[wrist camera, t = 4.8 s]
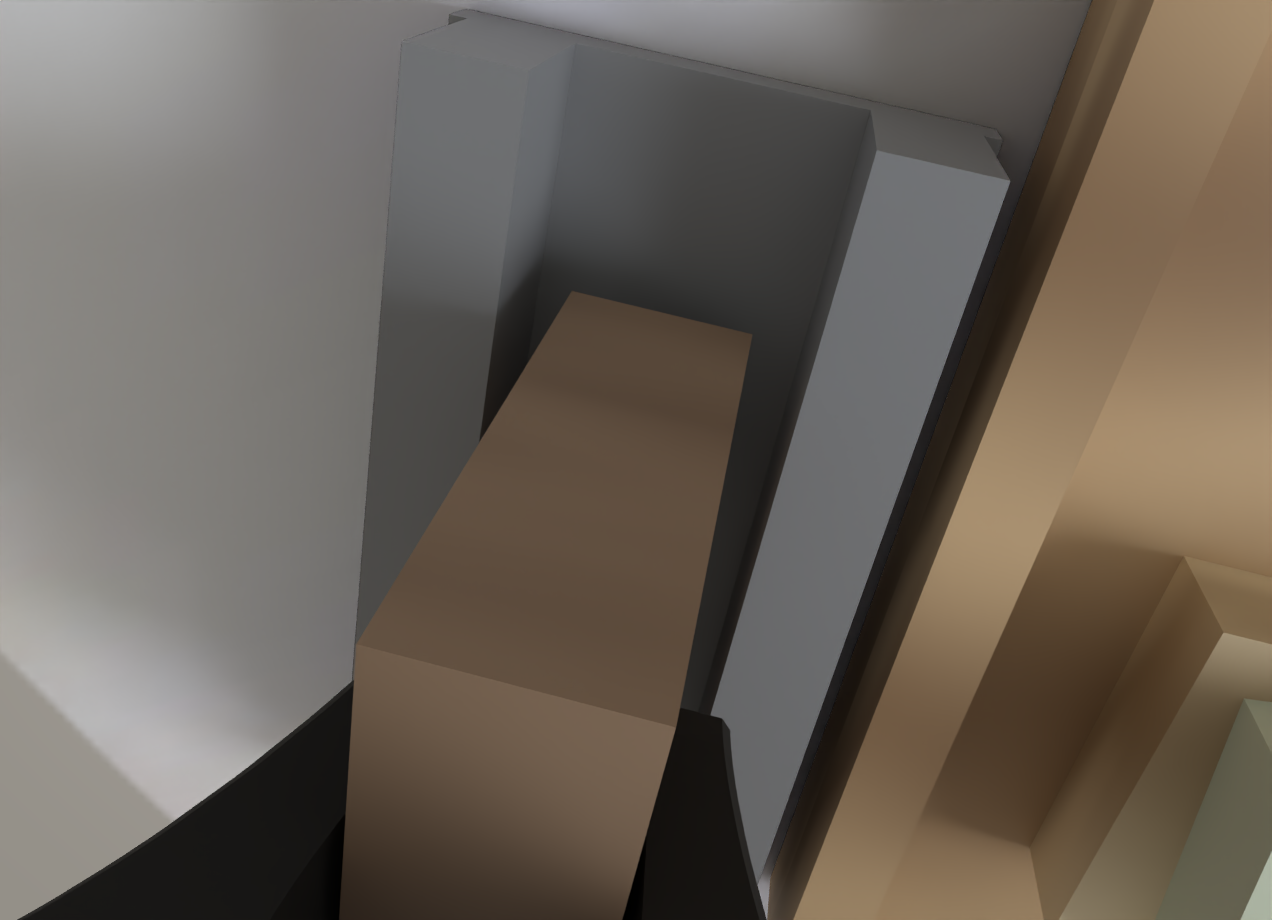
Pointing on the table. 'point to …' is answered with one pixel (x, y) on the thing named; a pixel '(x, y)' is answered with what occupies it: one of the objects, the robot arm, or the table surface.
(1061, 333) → the tray
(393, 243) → the holder
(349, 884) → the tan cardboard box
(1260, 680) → the offcut
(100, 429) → the table surface
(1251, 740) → the offcut
